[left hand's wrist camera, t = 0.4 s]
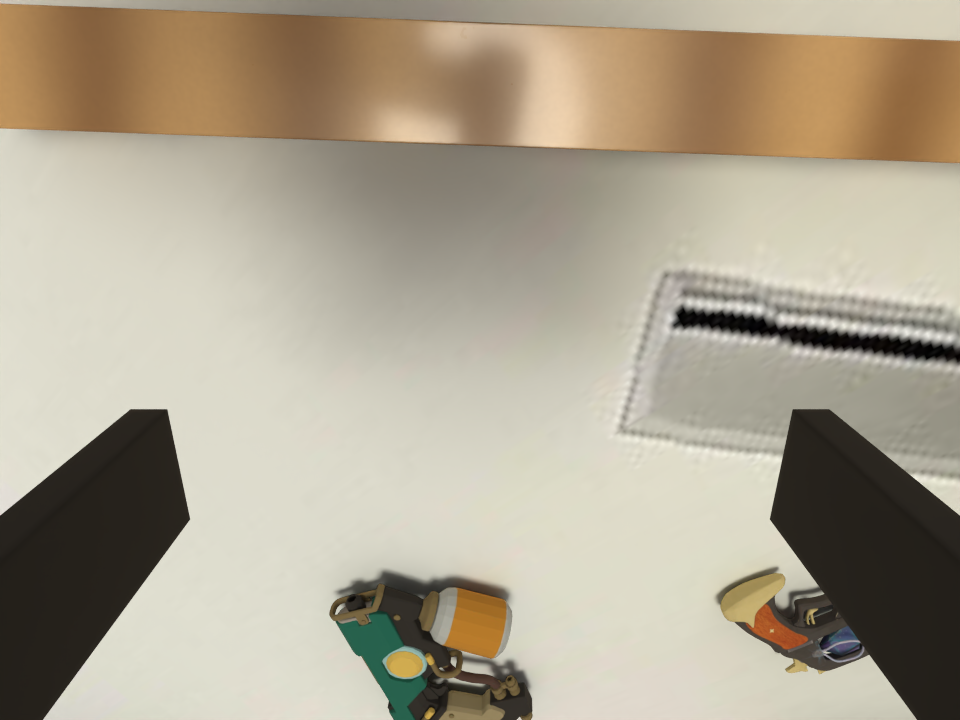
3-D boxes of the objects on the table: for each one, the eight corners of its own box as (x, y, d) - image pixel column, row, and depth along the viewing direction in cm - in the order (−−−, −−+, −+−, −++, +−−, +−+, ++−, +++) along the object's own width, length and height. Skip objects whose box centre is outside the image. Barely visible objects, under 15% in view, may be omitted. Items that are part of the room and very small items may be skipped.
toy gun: (724, 610, 45) (766, 711, 47) (972, 510, 43) (1005, 619, 46) (710, 589, 48) (751, 685, 50) (944, 493, 46) (976, 597, 48)
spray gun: (531, 710, 53) (363, 711, 54) (527, 565, 46) (333, 569, 47) (534, 759, 49) (352, 760, 50) (529, 609, 42) (318, 612, 43)
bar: (33, 124, 35) (-94, 125, 27) (12, 27, 33) (-130, -2, 26) (1262, 169, 36) (1477, 182, 28) (1306, 77, 34) (1550, 63, 26)
